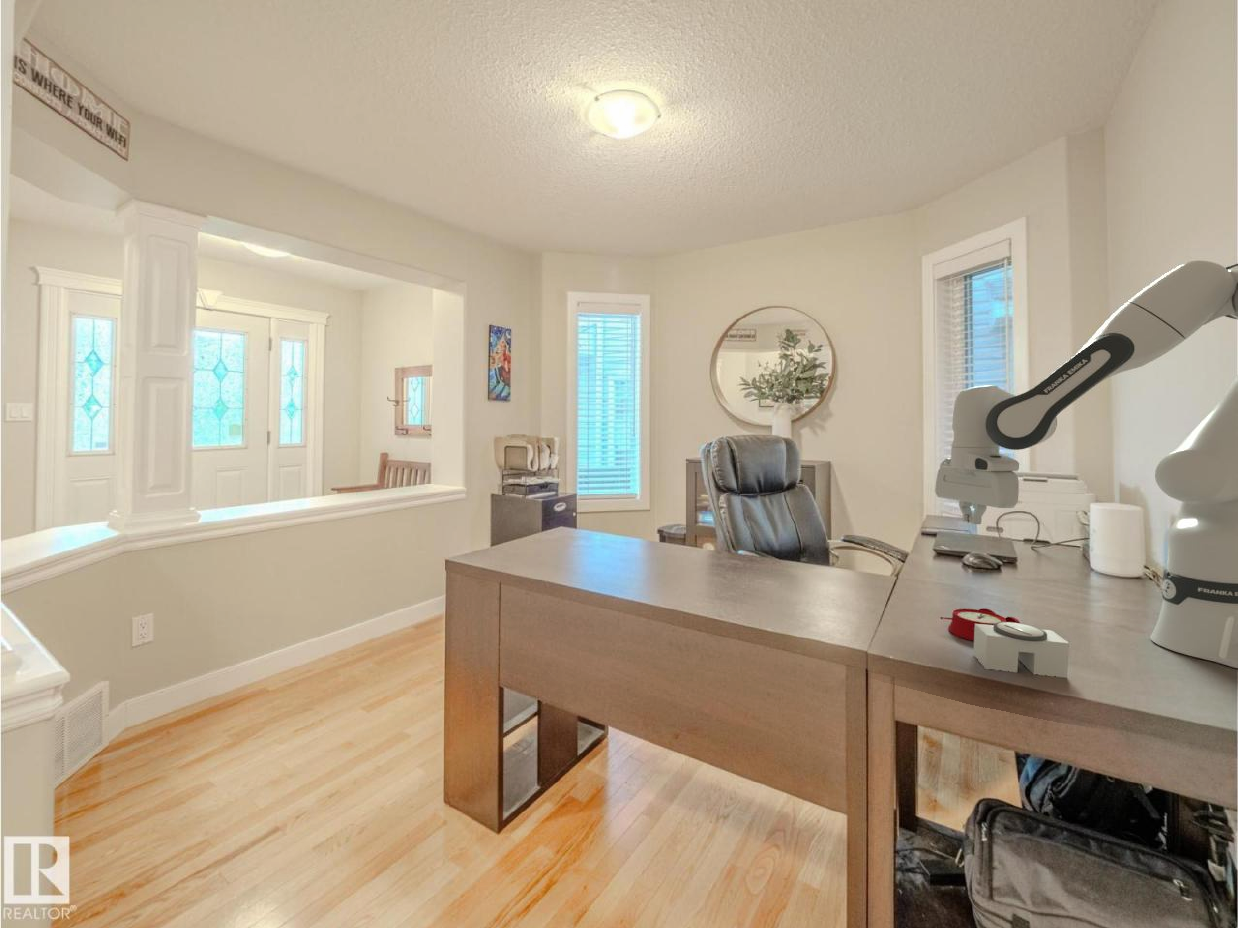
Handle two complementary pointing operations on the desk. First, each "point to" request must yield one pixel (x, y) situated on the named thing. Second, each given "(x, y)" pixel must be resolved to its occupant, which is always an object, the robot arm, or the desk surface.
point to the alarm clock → (973, 621)
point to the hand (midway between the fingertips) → (971, 523)
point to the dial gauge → (1021, 648)
